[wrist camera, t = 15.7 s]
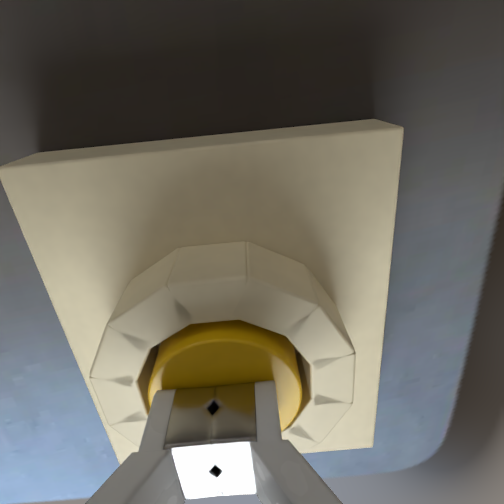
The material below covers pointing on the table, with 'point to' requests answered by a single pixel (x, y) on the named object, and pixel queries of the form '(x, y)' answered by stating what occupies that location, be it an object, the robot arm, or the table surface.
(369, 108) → the table surface
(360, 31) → the table surface
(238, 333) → the yellow push button
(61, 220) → the housing
